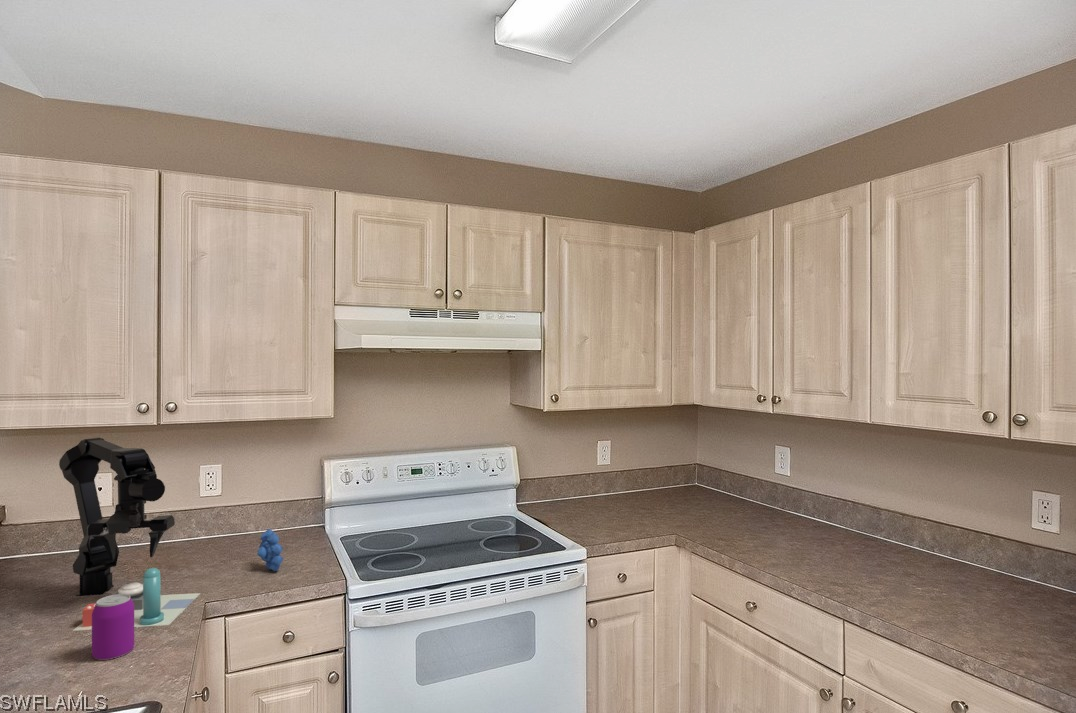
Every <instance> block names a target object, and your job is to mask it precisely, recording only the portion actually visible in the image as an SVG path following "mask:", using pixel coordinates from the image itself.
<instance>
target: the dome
mask: <svg viewBox="0 0 1076 713" xmlns="http://www.w3.org/2000/svg"><path fill="white" fill-rule="evenodd" d="M117 591H118V594H128V595H130V597H131V596H136V595H139V594H141V593H143V583H140V582H130V583H129V582H128V583H126V584H123V585H122V586H120V587H119V588H118V589H117Z"/></svg>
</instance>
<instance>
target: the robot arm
mask: <svg viewBox="0 0 1076 713" xmlns="http://www.w3.org/2000/svg"><path fill="white" fill-rule="evenodd" d="M102 461H103V462H106V463H109V464H110V465H109V468H110V470H112V471H114V472H115V473H116V475H115V477H114V478H113V480H114V481H115V482H116V481H117V503H116V504H115V507H114V512H113V514H112V515H111V516H110V517H109V518H106V519H105V518H103V514H102V510H101V506H100V501H99V496H98V491H97V486H96V482H95V479H96V477H97V476H98V472H99V470H100V466H99V464H100V463H101V462H102ZM58 463H59V464H58V465H59V468H60V471H61V472H62V475H63V478H64V479H65V480H66V481H68V483H70V485H72V487H73V490H74V496H75V500H76V504H77V505H76V506H77V510H78V515H79V520H80V525H81V530H82V534H83V537H82V540H81V543H80V545H79V546H78V556H77V557H76V559H75V561H74V562H73V564H72V570H73V573H74V574H76V575H78V576H79V592H78V593H77V594H75V596H76V597H85V596H102V595H104V594H106V593H107V592H108V591H110V590H111V589H112V588H114V587H115V585H114V584H113V573H112V572H111V568H115V567H117V563H118V560H119V559H118V558H119V554H120V549H119V546H118V542H117V540H116V538H117V536H116V534H125V535H126V534H128V533H130V531H131V530H132V529H133V530H134V529H146V528H149V530H151V531H149V532H148V535H149V537H150V538H149V539H150V540H149V557H150V558H153V557H154V556H155V553H156V551H157V548H158V545H159V544H160V541H161V538H162V537H163V535H164V533H166V531H168V530H169V529H171V528H172V527H174V526H175V525H176V524H175V522H176V521H175V517H174V516H173V515H172V514H170V515H169V514H168V515H166V514H165V515H157V516H155V517H154V518H151V519H147V514H145V504H147V502H156V501H159V500H160V499H161V498H162V497H163V495H164V494H165V490H166V485H165V484H164V481H162V480H161V479H159V478H158V476H157V472H156V466H155V465H154V464H153V462H152V460H151V457H150V456H149V454H148V452H147V451H146V450H145V449H144V448H140V447H123V446H120V445H118V444H114V443H112V442H110V441H107V440H106V439H104V438H102V437H92V438H84V439H83V440H80V441H79V443H78V444H77V445H75V446H73V447H71V448H69V449H68V450H67V451H65V452H64V454H62V456H61V458H60V459H59V462H58Z"/></svg>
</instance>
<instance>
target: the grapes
mask: <svg viewBox="0 0 1076 713" xmlns="http://www.w3.org/2000/svg"><path fill="white" fill-rule="evenodd" d="M259 538H260V540H261V542H260V543H259V546H258V549H257V552H256V555H258V556H259V558H261V560H263V562H265V568H267V569H268V570H269V571H270V570H271V569H272V571H274V572H278V571H279V569H280V568H281V564H282V563H283V561H284V557H283V556H282V555H281V553H282V552H283V549H284V547H283V546H282V545H281V544H280V543H279V541H280V536H279V535H278V534H276V533H275V532H274V530H272V529H270V528H268V529H266V530H265V531H264V532H262V533H261V536H260V537H259Z"/></svg>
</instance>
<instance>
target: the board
mask: <svg viewBox="0 0 1076 713" xmlns="http://www.w3.org/2000/svg"><path fill="white" fill-rule="evenodd" d="M200 594H201V593H200V592H197V593H181V594H180V593H179V594H178V593H176V594H161V612H163V613H164V620H163V621H161V622H159V623H156V624H152V625H141V624H140V617H141V616H142V615H143V609H142V610H134V628H139V627H141V628H143V627H157V626H169V625H171V623H172V622H173V621H174V620H176V619H177V618H178V617H179V616H180V614H181V613H182V612H183V611H185V609H186V608H187V607H188V606H189V605H190V604H191V603H192V602H193V601H195V599H197V597H199V596H200ZM87 630H88V631H90V630H91V631H92V626H88V627H83V622H81V623H80V624H79V625H78V626H77V627H75V628H74V629H73V630H72V631H76V632H77V631H87Z"/></svg>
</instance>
